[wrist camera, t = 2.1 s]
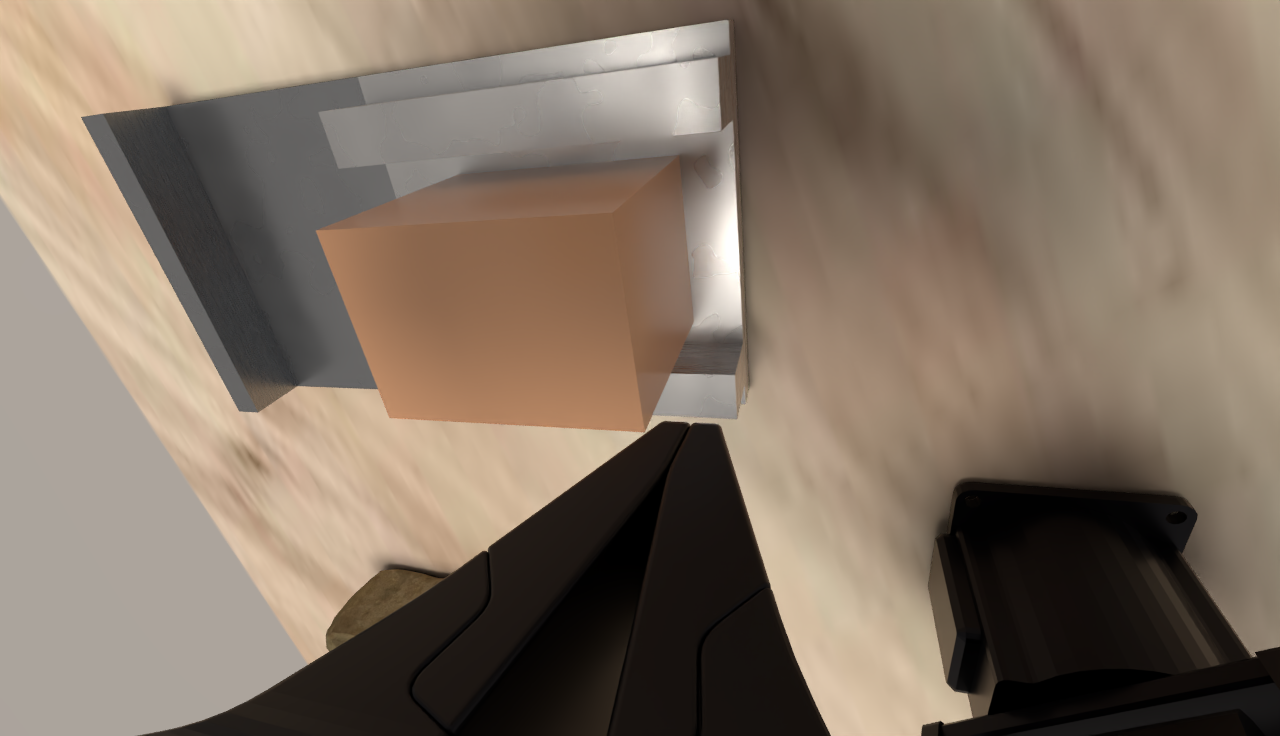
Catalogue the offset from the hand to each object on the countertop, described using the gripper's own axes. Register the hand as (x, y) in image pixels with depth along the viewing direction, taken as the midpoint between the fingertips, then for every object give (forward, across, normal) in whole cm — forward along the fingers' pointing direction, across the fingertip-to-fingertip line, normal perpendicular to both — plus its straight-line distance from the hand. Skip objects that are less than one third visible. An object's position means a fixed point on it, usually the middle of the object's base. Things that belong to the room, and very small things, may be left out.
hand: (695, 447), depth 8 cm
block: (+10, +6, 0) cm, 11 cm away
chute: (+11, +11, 0) cm, 15 cm away
